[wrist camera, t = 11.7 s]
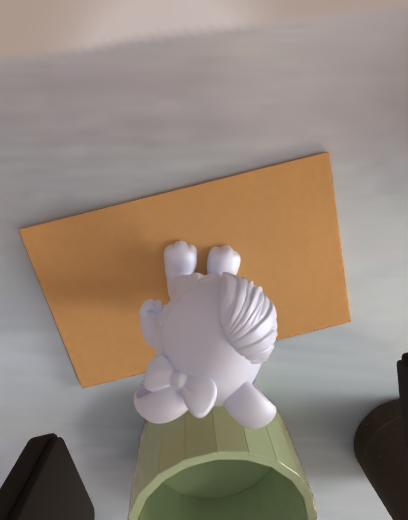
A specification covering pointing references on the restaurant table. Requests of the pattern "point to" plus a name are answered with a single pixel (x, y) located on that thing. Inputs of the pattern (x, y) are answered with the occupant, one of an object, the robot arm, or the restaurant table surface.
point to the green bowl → (218, 471)
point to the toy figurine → (206, 341)
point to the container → (385, 457)
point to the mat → (203, 238)
